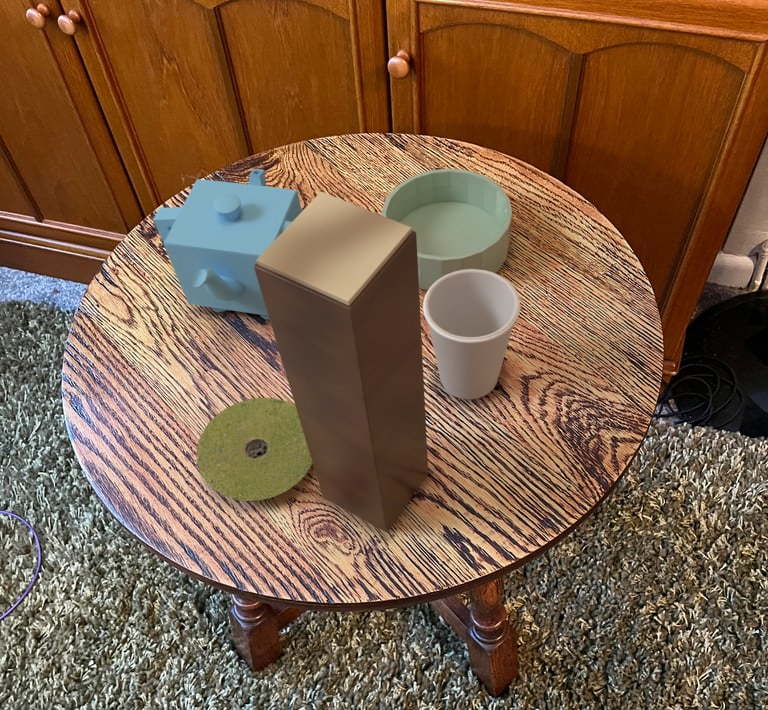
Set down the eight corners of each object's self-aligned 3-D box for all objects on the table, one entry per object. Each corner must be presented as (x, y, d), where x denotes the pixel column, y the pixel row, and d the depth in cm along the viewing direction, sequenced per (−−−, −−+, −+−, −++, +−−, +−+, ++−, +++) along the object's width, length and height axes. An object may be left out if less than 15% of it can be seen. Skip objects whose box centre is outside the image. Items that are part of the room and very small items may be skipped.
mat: (251, 391, 76) (246, 379, 74) (343, 439, 73) (341, 428, 71) (178, 475, 72) (171, 464, 70) (272, 531, 69) (267, 521, 67)
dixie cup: (530, 382, 74) (540, 309, 65) (460, 425, 72) (461, 356, 64) (477, 329, 78) (480, 253, 69) (409, 369, 76) (404, 296, 67)
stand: (428, 474, 70) (416, 226, 45) (386, 533, 68) (349, 304, 43) (365, 441, 72) (320, 188, 47) (322, 497, 70) (251, 260, 45)
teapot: (342, 241, 85) (327, 151, 75) (293, 368, 77) (270, 287, 67) (209, 224, 88) (178, 136, 78) (150, 346, 80) (107, 264, 70)
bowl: (531, 228, 84) (535, 193, 80) (468, 309, 79) (469, 277, 75) (426, 188, 88) (425, 154, 84) (361, 263, 83) (356, 231, 79)
